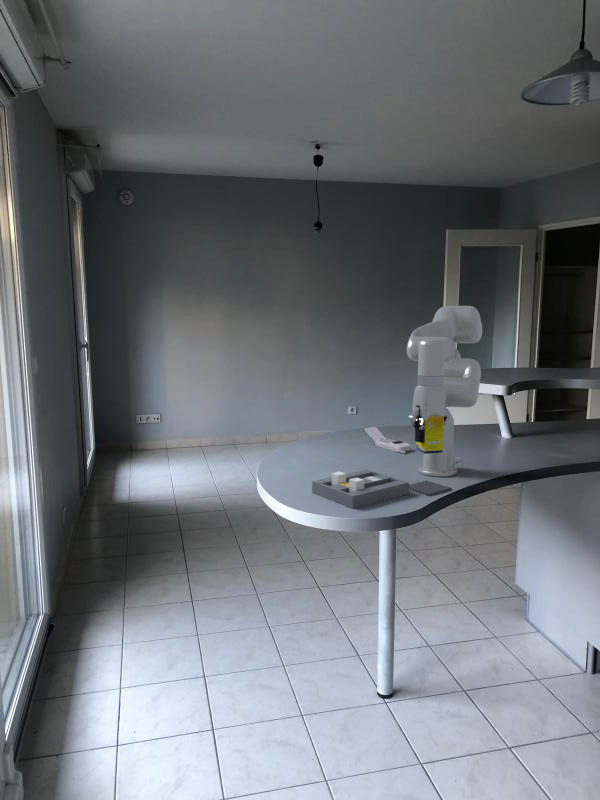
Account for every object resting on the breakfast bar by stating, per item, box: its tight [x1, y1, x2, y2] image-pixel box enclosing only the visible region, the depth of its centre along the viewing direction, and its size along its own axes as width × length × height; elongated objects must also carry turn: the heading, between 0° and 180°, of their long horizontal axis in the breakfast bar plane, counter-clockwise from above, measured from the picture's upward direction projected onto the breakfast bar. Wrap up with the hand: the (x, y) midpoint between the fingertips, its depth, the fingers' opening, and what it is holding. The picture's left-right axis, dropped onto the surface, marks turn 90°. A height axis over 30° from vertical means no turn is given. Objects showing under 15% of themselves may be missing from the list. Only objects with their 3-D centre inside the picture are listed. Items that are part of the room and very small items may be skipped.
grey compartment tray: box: [311, 469, 410, 510], centre depth 184 cm, size 22×18×4 cm
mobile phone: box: [364, 426, 412, 454], centre depth 243 cm, size 6×6×25 cm
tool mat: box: [409, 480, 453, 497], centre depth 189 cm, size 10×10×1 cm
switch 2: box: [349, 478, 364, 492], centre depth 178 cm, size 3×3×4 cm
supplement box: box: [415, 416, 444, 454], centre depth 186 cm, size 6×6×11 cm
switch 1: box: [331, 471, 347, 485], centre depth 184 cm, size 3×3×4 cm
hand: (429, 439), depth 186 cm, fingers closed on supplement box, 7 cm apart
